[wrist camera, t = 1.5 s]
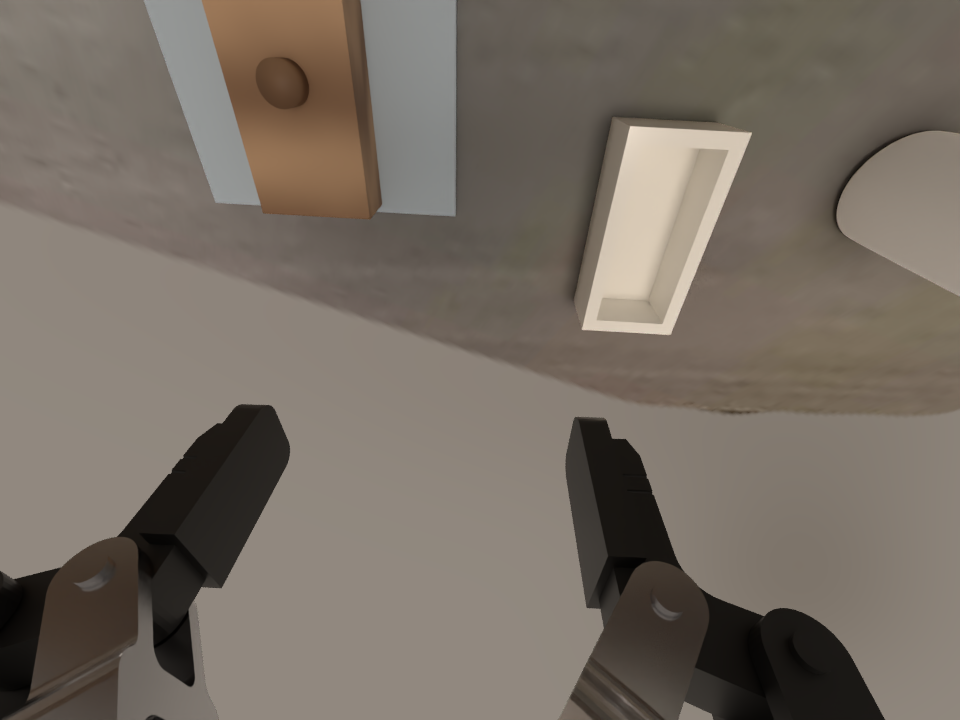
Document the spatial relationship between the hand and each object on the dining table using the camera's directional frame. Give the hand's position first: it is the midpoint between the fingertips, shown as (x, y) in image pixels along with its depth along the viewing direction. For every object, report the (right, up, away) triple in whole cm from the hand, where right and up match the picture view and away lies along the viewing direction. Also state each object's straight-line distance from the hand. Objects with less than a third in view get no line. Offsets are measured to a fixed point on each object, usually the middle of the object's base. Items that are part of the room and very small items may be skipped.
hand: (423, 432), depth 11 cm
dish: (+12, +11, +16) cm, 23 cm away
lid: (-8, +17, +11) cm, 22 cm away
